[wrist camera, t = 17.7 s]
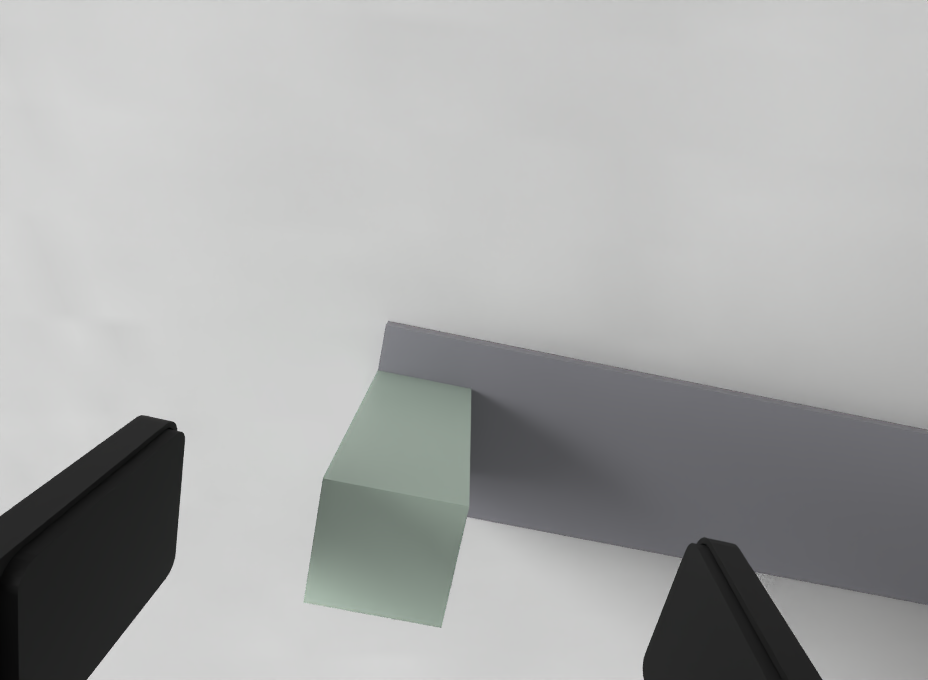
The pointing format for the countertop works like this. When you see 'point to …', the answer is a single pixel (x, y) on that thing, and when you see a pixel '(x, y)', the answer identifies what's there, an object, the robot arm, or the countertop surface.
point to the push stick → (603, 475)
